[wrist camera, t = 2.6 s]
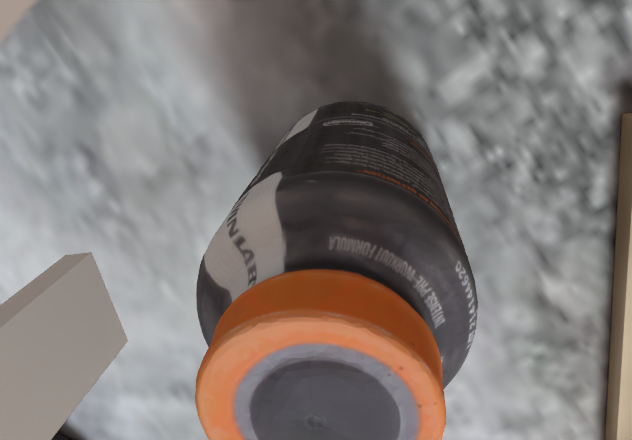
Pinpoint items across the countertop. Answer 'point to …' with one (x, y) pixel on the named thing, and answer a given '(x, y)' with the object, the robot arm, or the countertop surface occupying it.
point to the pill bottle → (336, 289)
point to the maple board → (622, 302)
